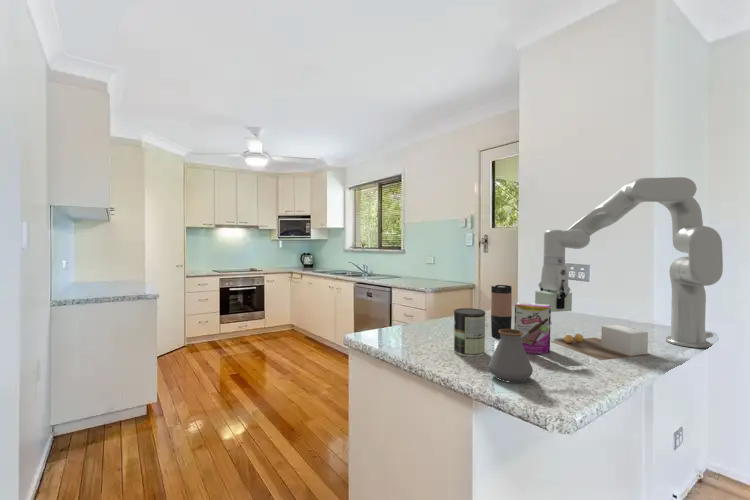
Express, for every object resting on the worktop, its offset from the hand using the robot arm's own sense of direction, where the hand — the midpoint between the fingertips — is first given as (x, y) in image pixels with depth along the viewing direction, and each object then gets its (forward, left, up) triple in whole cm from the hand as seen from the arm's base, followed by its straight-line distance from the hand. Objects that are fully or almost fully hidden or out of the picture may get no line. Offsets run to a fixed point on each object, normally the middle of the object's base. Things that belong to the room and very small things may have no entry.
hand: (553, 306), depth 146 cm
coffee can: (+42, +10, -12) cm, 45 cm away
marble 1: (+4, +13, -9) cm, 16 cm away
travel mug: (+20, -5, -12) cm, 24 cm away
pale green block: (0, 0, -1) cm, 1 cm away
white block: (-8, +24, -11) cm, 27 cm away
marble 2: (0, +13, -9) cm, 16 cm away
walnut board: (-2, +20, -12) cm, 23 cm away
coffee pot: (+38, +33, -12) cm, 52 cm away
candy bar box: (+22, +16, -12) cm, 30 cm away
